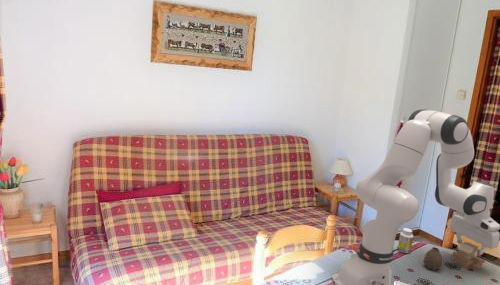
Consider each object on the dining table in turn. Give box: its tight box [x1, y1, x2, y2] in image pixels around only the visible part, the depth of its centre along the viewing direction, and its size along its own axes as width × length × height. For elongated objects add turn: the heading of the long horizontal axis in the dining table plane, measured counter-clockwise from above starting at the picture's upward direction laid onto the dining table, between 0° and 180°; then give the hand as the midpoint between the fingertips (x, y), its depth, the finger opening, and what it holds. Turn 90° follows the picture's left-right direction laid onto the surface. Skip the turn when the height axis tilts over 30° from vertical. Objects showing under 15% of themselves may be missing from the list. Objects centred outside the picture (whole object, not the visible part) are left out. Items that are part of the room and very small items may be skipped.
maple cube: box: [458, 241, 480, 259], centre depth 162 cm, size 5×5×5 cm
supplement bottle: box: [397, 227, 414, 254], centre depth 169 cm, size 6×6×10 cm
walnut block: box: [451, 250, 484, 270], centre depth 162 cm, size 8×8×4 cm
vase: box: [423, 246, 444, 271], centre depth 155 cm, size 7×7×9 cm
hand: (469, 248), depth 161 cm, fingers open, 8 cm apart
